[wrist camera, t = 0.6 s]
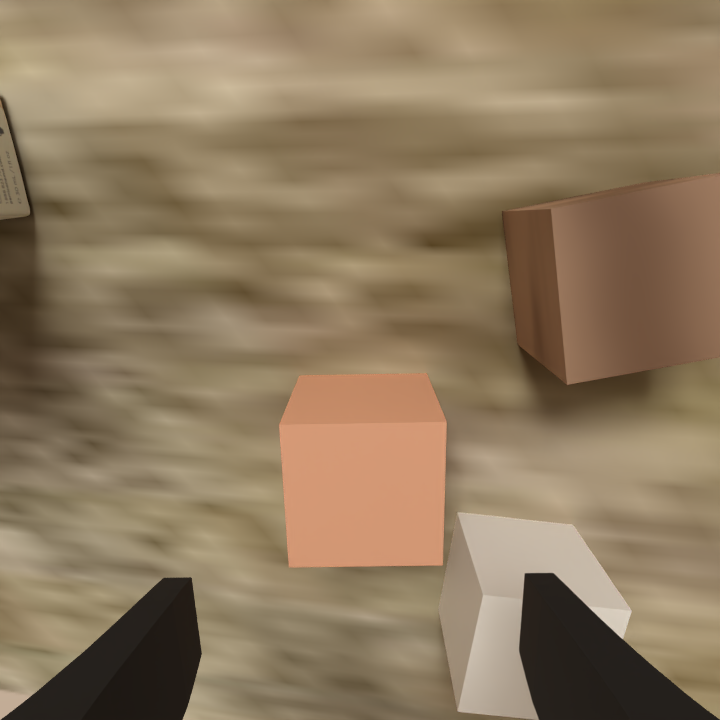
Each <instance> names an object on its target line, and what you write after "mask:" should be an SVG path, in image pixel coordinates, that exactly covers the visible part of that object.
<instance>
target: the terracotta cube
mask: <svg viewBox="0 0 720 720" xmlns="http://www.w3.org/2000/svg"><path fill="white" fill-rule="evenodd" d="M446 428H447V422H446V419H445V417H444V414H443V412H442V409H441V407H440V404H439V402H438V399H437V397H436V395H435V392H434V390H433V387H432V385H431V382H430V380H429V377H428V375H427V373H418V374H361V375H304V376H299V378H298V380H297V383H296V385H295V387H294V390H293V392H292V395H291V397H290V400H289V402H288V404H287V407H286V409H285V412H284V414H283V417H282V419H281V422H280V424H279V429H280V444H281V459H282V473H283V488H284V502H285V517H286V531H287V546H288V560H289V567H353V566H430V565H443V539H444V502H445V465H446Z"/></svg>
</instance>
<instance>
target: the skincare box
mask: <svg viewBox="0 0 720 720" xmlns="http://www.w3.org/2000/svg"><path fill="white" fill-rule="evenodd" d="M29 214H30V207H29V204H28V200H27V196H26V192H25V188H24V184H23V180H22V176H21V172H20V168H19V164H18V161H17V157H16V153H15V149H14V145H13V142H12V138H11V134H10V131H9V127H8V123H7V120H6V116H5V113H4V110H3V106H2V103H1V99H0V220H2V219H10V218H18V217H26V216H28V215H29Z"/></svg>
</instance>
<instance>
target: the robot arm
mask: <svg viewBox="0 0 720 720" xmlns="http://www.w3.org/2000/svg"><path fill="white" fill-rule="evenodd" d="M519 653H520V657H521V661H522V665H523V669H524V673H525V677H526V680H527V684H528V688H529V691H530V695H531V699H532V702H533V705H534V708H535V710H536V713H537V716H538V718H539V720H719V719H718V718H717V717H715V716H714V715H713V714H711V713H710V712H709V711H707V710H706V709H705V708H703V707H702V706H701V705H700V704H698V703H697V702H696V701H694V700H693V699H692V698H691V697H689V696H688V695H687V694H686V693H684V692H683V691H682V690H681V689H680V688H678V687H677V686H676V685H675V684H674V683H672V682H671V681H670V680H669V679H668V678H666V677H665V676H664V675H663V674H662V673H660V672H659V671H658V670H657V669H656V668H654V667H653V666H652V665H651V664H650V663H649V662H648V661H646V660H645V659H644V658H643V657H642V656H641V655H640V654H638V653H637V652H636V651H635V650H634V649H633V648H632V647H631V646H629V645H628V644H627V643H626V642H625V641H624V640H623V639H622V638H621V637H620V636H619V635H617V634H616V633H615V632H614V631H613V630H612V629H611V628H610V627H609V626H608V625H607V624H606V623H605V622H604V621H602V620H601V619H600V618H599V617H598V616H597V615H596V614H595V613H594V612H593V611H592V610H591V609H590V608H589V607H588V606H587V605H586V604H585V603H584V602H583V601H582V600H581V599H580V598H579V597H578V596H577V595H576V594H575V593H574V592H573V591H572V590H571V589H570V588H569V587H567V586H566V585H565V584H564V583H563V582H562V581H561V580H560V579H559V578H558V577H557V576H556V575H555V574H554V573H525V576H524V589H523V602H522V615H521V628H520V642H519ZM201 655H202V653H201V645H200V638H199V630H198V623H197V615H196V608H195V600H194V592H193V585H192V578H163V579H162V580H161V581H160V582H159V583H158V584H156V585H155V586H154V587H153V588H152V589H151V590H150V591H149V592H148V593H147V594H146V595H145V596H144V597H143V598H141V599H140V600H139V601H138V602H137V603H136V604H135V605H134V606H133V607H132V608H131V609H130V610H129V611H128V612H127V613H126V614H124V615H123V616H122V617H121V618H120V619H119V620H118V621H117V622H116V623H115V624H114V625H113V626H112V627H110V628H109V629H108V630H107V631H106V632H105V633H104V634H103V635H102V636H101V637H100V638H98V639H97V640H96V641H95V642H94V643H93V644H92V645H91V646H90V647H89V648H88V649H86V650H85V651H84V652H83V653H82V654H81V655H79V656H78V657H77V658H76V659H75V660H74V661H72V662H71V663H70V664H69V665H68V666H67V667H65V668H64V669H63V670H62V671H61V672H59V673H58V674H57V675H56V676H55V677H54V678H52V679H51V680H50V681H49V682H48V683H46V684H45V685H44V686H43V687H42V688H41V689H39V690H38V691H37V692H36V693H35V694H33V695H32V696H31V697H30V698H28V699H27V700H26V701H25V702H23V703H22V704H21V705H20V706H18V707H17V708H16V709H15V710H13V711H12V712H10V713H9V714H8V715H7V716H5V717H4V718H2V719H1V720H183V717H184V714H185V712H186V709H187V706H188V703H189V699H190V696H191V692H192V689H193V685H194V682H195V678H196V674H197V670H198V666H199V662H200V659H201Z"/></svg>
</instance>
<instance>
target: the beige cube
mask: <svg viewBox="0 0 720 720" xmlns="http://www.w3.org/2000/svg"><path fill="white" fill-rule="evenodd" d="M525 573H554V574H555V575H556V576H557V577H558V578H559V579H560V580H561V581H562V582H563V583H564V584H565V585H566V586H567V587H569V588H570V589H571V590H572V591H573V592H574V593H575V594H576V595H577V596H578V597H579V598H580V599H581V600H582V601H583V602H584V603H585V604H586V605H587V606H588V607H589V608H590V609H591V610H592V611H593V612H594V613H595V614H596V615H597V616H598V617H599V618H600V619H601V620H602V621H604V622H605V623H606V624H607V625H608V626H609V627H610V628H611V629H612V630H613V631H614V632H615V633H616V634H617V635H619V636H620V637H621V638H622V639H623V637H624V634H625V631H626V627H627V624H628V621H629V618H630V615H631V612H632V611H631V609H630V608H629V606H628V605H627V603H626V602H625V600H624V599H623V597H622V596H621V594H620V593H619V591H618V590H617V589H616V587H615V586H614V584H613V583H612V581H611V580H610V578H609V577H608V575H607V574H606V572H605V571H604V569H603V568H602V566H601V565H600V564H599V562H598V561H597V559H596V558H595V556H594V555H593V553H592V552H591V550H590V549H589V547H588V546H587V544H586V543H585V542H584V540H583V539H582V537H581V536H580V534H579V533H578V531H577V530H576V528H575V527H574V525H570V524H561V523H552V522H543V521H534V520H525V519H515V518H506V517H497V516H488V515H479V514H470V513H461V512H457V515H456V521H455V526H454V531H453V536H452V541H451V547H450V552H449V557H448V562H447V567H446V572H445V578H444V583H443V588H442V593H441V598H440V604H439V609H438V610H439V615H440V621H441V626H442V631H443V637H444V642H445V647H446V653H447V658H448V663H449V669H450V674H451V679H452V685H453V690H454V695H455V701H456V706H457V711H458V712H465V713H475V714H484V715H494V716H504V717H514V718H524V719H534V720H539V718H538V716H537V713H536V710H535V708H534V705H533V702H532V699H531V695H530V691H529V688H528V684H527V680H526V677H525V673H524V669H523V665H522V661H521V657H520V653H519V642H520V628H521V615H522V602H523V589H524V576H525Z"/></svg>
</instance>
